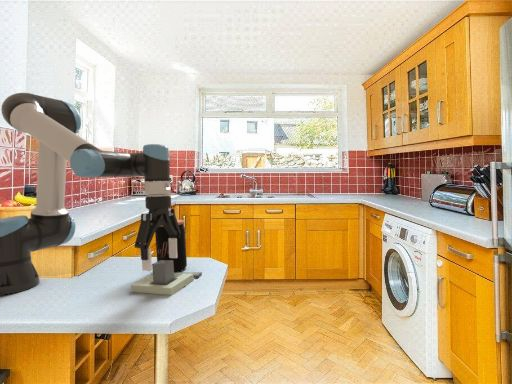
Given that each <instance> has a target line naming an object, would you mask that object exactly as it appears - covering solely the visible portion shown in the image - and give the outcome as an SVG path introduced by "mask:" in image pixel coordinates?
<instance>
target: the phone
mask: <svg viewBox="0 0 512 384" xmlns="http://www.w3.org/2000/svg"><path fill="white" fill-rule="evenodd" d="M181 273H188V274H194V279H199V278H200V277H201V276H202V274H203V272H200V271H198V272H194V271H193V272H192V271H191V272H190V271H189V272H187V271H186V272H185V271H184V272H182V271H181Z"/></svg>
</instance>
